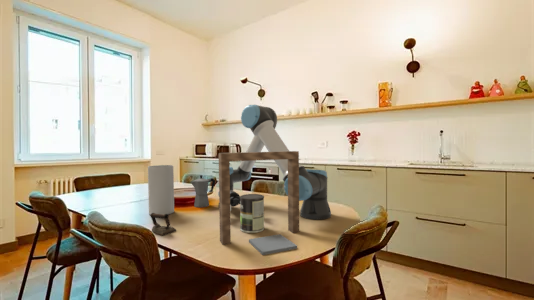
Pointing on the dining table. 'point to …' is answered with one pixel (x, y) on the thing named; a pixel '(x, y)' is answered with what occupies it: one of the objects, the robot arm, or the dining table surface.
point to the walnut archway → (252, 156)
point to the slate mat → (272, 244)
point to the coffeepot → (202, 191)
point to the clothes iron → (161, 229)
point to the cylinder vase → (161, 189)
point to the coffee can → (252, 213)
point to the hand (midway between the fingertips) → (244, 206)
